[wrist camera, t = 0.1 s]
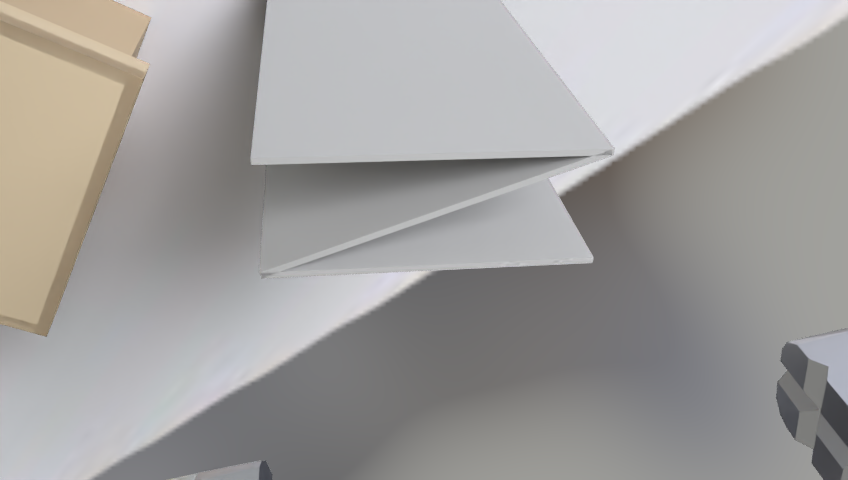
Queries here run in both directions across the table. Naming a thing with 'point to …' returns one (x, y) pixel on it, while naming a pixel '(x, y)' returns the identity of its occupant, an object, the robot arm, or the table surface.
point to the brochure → (412, 140)
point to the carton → (93, 20)
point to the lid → (53, 154)
